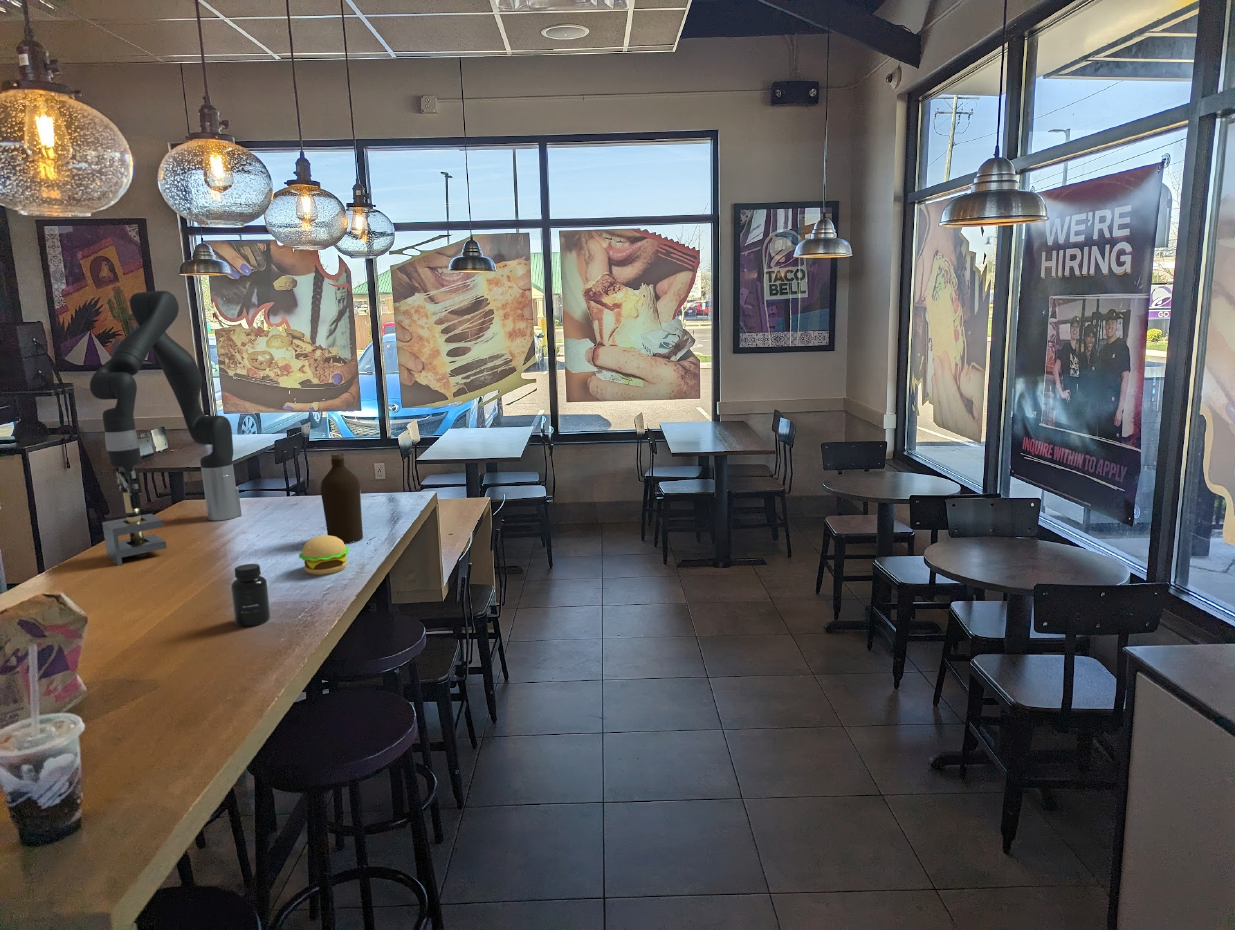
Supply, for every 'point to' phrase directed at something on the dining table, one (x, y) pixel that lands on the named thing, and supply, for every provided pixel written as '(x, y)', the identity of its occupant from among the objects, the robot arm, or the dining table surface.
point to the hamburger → (324, 555)
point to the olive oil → (342, 502)
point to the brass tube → (133, 517)
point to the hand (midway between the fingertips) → (132, 506)
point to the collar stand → (124, 547)
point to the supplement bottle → (250, 596)
